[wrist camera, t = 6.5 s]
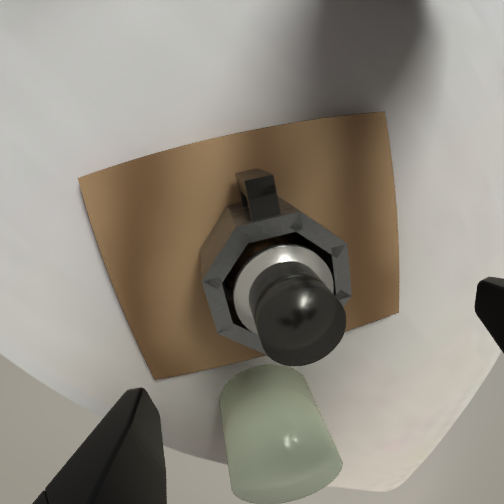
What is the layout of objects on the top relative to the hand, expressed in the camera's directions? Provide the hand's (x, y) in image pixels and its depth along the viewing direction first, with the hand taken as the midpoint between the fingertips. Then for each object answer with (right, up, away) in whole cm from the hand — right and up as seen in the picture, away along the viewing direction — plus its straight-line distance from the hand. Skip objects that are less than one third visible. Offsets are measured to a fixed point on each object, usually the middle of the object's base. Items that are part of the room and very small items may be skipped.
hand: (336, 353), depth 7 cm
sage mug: (-1, -9, +17) cm, 19 cm away
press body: (-1, +2, +12) cm, 12 cm away
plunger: (-1, +2, +11) cm, 11 cm away
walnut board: (-1, +2, +12) cm, 13 cm away
